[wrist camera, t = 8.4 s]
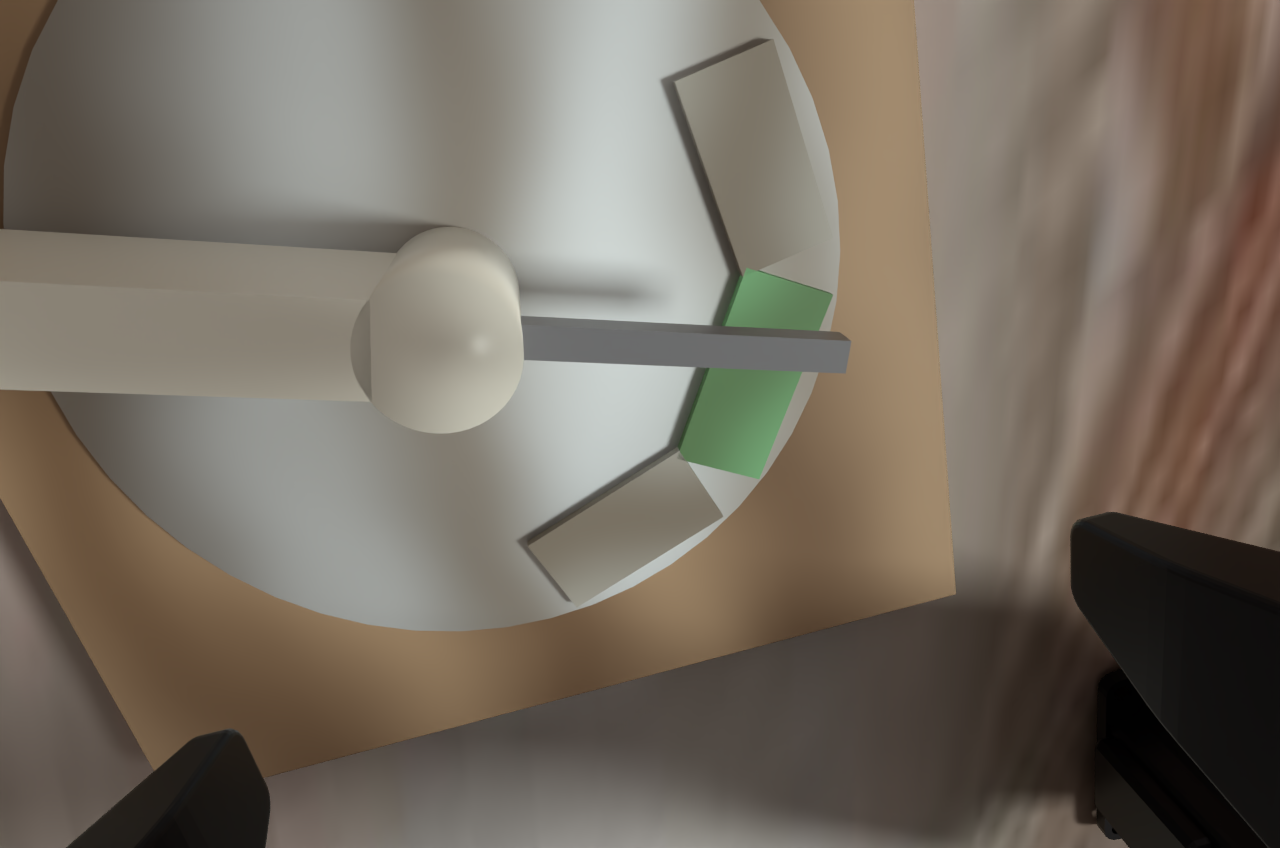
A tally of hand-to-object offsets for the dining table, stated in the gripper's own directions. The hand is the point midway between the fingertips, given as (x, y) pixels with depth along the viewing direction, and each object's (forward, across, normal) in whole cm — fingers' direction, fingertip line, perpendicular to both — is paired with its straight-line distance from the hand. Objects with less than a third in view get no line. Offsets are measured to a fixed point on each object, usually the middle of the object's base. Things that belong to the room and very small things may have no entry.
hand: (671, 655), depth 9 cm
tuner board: (+12, +2, -2) cm, 12 cm away
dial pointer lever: (+10, +4, -3) cm, 11 cm away
